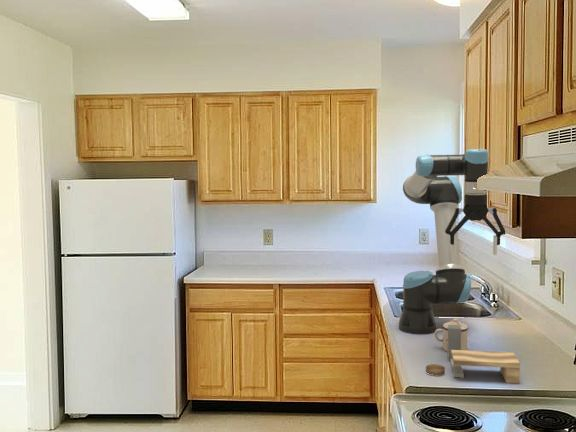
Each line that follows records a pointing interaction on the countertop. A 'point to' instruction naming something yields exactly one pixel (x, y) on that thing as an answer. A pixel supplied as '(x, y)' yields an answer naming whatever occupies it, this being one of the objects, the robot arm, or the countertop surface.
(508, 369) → the shelf
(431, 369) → the coaster
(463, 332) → the teacup with lid
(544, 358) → the countertop surface
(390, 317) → the countertop surface
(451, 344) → the gray l-shaped block
